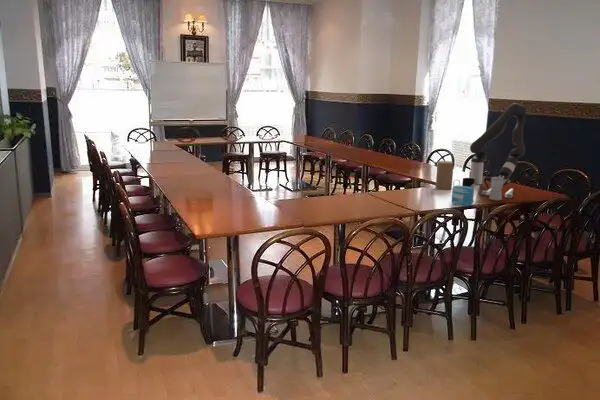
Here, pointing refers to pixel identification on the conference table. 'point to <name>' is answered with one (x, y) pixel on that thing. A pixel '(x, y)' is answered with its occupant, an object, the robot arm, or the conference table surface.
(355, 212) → the conference table surface
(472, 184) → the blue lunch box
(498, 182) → the coffee maker
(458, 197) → the data package
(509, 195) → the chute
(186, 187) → the conference table surface
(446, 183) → the wooden block
